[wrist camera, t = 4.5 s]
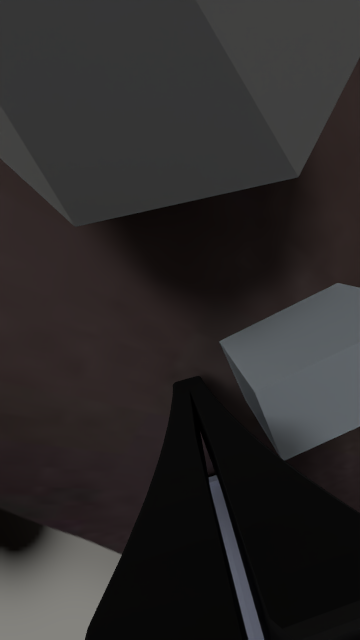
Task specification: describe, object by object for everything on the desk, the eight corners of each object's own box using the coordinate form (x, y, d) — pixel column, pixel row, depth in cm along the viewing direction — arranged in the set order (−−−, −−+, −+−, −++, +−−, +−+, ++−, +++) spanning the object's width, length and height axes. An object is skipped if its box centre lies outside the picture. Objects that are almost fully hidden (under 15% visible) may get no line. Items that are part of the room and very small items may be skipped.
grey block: (341, 350, 12) (423, 397, 9) (243, 397, 13) (282, 461, 9) (334, 282, 10) (437, 305, 7) (218, 339, 10) (254, 392, 7)
